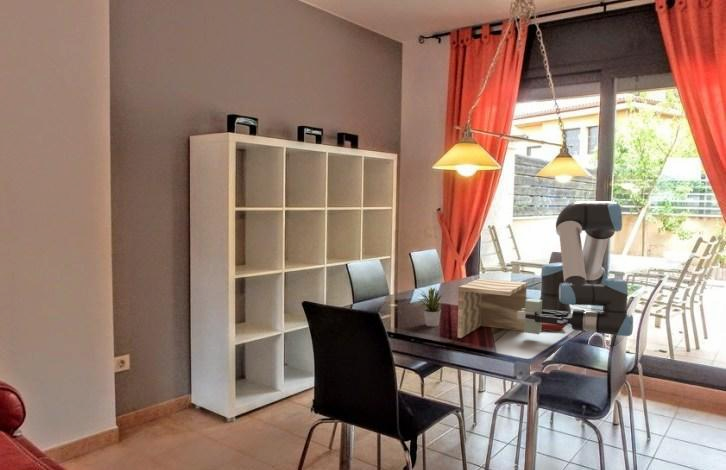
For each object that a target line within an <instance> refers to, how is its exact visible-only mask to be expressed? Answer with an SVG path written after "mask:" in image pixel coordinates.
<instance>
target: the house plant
mask: <svg viewBox="0 0 726 470" xmlns="http://www.w3.org/2000/svg"><path fill="white" fill-rule="evenodd" d="M418 290H419V291H420V294H418V295H420V296H423V299H419V298H418V300H420V301H418V303H421V307H423V306H424V307H425V309H423V313H424V314H423V315H424V321H425V322H424V323H425V326H427V327H438V326H439V322H440V317H441V309H439V308H440V307H443V305H441V302H443V300H441V301H440V299H441V297H442V296H444V293H442V294H441V295H439V290H437V289H436V287H434V288H432V287H431V286H430V289H428V296H427V295H426V293H425V291H423V290H422V289H420V288H418ZM445 302H447V300H445ZM418 303H417V304H418Z"/></svg>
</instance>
